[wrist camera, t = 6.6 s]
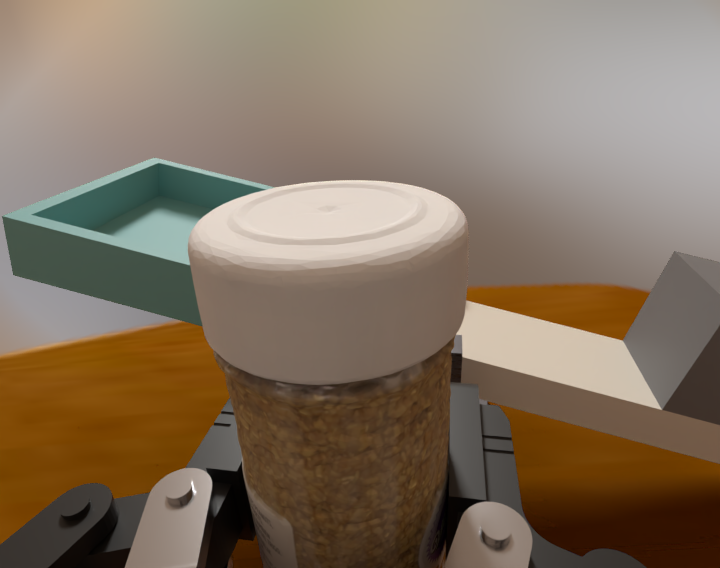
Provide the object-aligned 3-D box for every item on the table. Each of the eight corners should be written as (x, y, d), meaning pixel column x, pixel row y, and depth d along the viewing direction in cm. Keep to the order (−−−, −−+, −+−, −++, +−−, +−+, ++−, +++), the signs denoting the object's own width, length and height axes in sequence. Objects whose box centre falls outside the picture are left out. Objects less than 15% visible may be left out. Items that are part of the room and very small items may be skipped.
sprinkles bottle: (450, 768, 11) (496, 262, 5) (267, 751, 12) (117, 265, 6) (438, 578, 15) (456, 168, 9) (302, 570, 16) (235, 175, 10)
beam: (703, 376, 21) (783, 262, 18) (828, 544, 14) (990, 401, 11) (156, 234, 23) (153, 111, 20) (22, 320, 16) (-11, 148, 13)
